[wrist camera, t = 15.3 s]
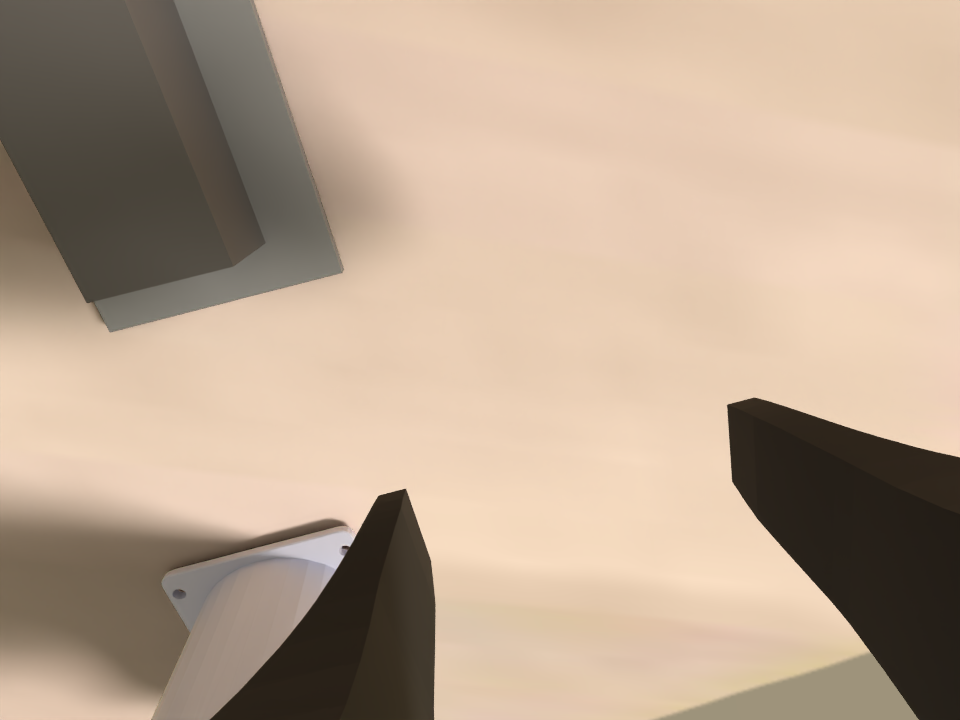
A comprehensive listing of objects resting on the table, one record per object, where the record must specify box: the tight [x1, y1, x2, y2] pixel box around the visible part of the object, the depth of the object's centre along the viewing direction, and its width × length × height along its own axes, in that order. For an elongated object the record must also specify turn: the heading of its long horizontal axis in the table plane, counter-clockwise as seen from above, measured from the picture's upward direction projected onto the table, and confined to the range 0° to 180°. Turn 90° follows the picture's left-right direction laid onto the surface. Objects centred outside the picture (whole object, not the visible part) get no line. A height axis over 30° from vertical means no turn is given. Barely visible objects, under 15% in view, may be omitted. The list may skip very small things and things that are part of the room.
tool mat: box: [94, 0, 344, 332], centre depth 17 cm, size 12×8×1 cm, turn 13°
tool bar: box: [0, 0, 266, 303], centre depth 14 cm, size 11×4×4 cm, turn 13°
